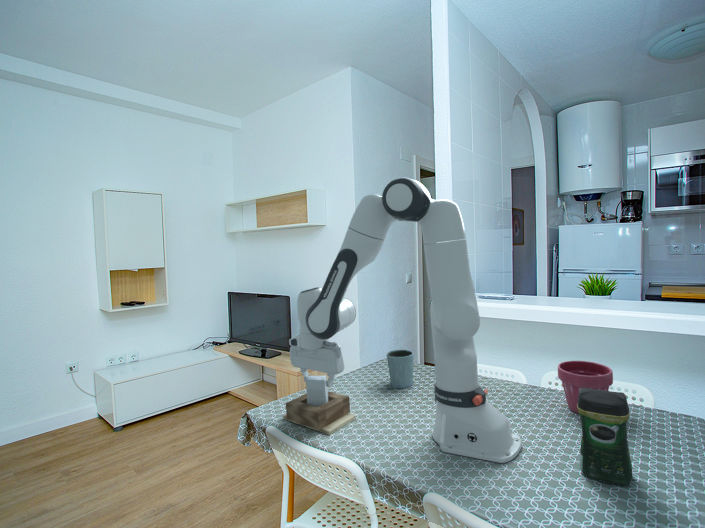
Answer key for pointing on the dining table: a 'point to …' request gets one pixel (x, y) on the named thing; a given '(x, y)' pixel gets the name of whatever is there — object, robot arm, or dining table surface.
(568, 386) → the plant pot
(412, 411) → the dining table surface
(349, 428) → the dining table surface
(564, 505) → the dining table surface
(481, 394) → the robot arm
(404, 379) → the blue-grey flower pot
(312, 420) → the socket
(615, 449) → the coffee jar
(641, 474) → the dining table surface
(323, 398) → the skincare box
